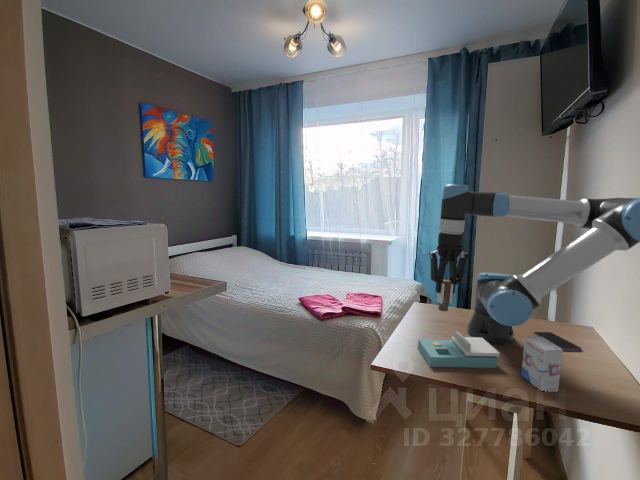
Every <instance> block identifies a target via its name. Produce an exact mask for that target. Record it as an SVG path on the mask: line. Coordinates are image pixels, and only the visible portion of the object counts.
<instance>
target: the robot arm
mask: <svg viewBox="0 0 640 480" xmlns="http://www.w3.org/2000/svg"><path fill="white" fill-rule="evenodd" d="M442 191H443V192H442V196H441V207H440V219H439V228H438V229H439V232H438V239H437V247H436V250H433V251H429V252H428V255H429V258H430V280H431V281H433V282H435V293H437V294H436V302H437V303H438V304H439V303H441V304H443V296H444V287H445V284H442V283H443V280H445V279H444V278H445V273H446V269H447V265H448V264H449V265H448V268H449V269H448V272H449V274H448V276H449V277H448V280H449V281H451V286H450V295H449V304H452V301H453V294H454V293H455V292H456V286H457V285H458V283H461V282H462V281H463V276H464V272H465V268H466V264H467V260H468V258H469V256H470V254H469V253H467V252H465V251H463V248H462V246H463V241H464V234H463V233H464V232H465V224H466V223H465V222H466V217H467V216H479V217H492V218H497V217H498V218H503V217H504V218H514V219H515V218H516V219H524V220H533V221H534V220H535V221H543V222H554V223H561V224H571V225H572V224H573V225H574V226H575V227H576V228H579V229H580V228H582V229H588V230H587V231H585V232H584V233H582V234H581V235H579V236H578V237H576V238H575V239H573V240H572V241H570V242H569V243H567V244H566V245H564V246H563V247H561V248H560V249H558V250H557V251H555V252H554V253H552V254H550V255H549V256H547V257H546V258H545V259H542V260H541V261H540V262H539V263H538V264H536V265H534V266H532V267H531V268H530V269H528V270H526V271H525V272H523V273H522V274H520V275H519V274H507V273H506V274H505V273H499V272H479V273H478V275H477V278H476V287H475V288H476V289H475V299H474V308H473V309H474V310H473V313H472V315H471V317H470V319H469V322H467V323H468V324H467V328H466V332H467V333H468V334H469V336H470V337H482V338H483V339H484V340H486V341H487V342H488V343H491V344H492V343H493V344H499V345H500V344H509V343H510V344H511V343H512V342H513V341H514V335H515V334H514V329H513V327H516V326H520V325H523V324H525V323H526V322H528V321H529V319H530V318H531V317H532V314H533V313H532V312H533V310H534V309H536V308H538V307H540V305H541V304H542V298H543V297H545V296H547V295H548V294H549V293H551V292H552V291H554V290H556V289H557V288H559V287H560V286H562V285H563V284H565V283H567V282H568V281H569V280H572V279H573V278H574V277H576V276H577V275H580V274H581V273H583V272H584V271H585V270H587V269H589V268H591V267H592V266H594V265H595V264H596V263H598V262H599V261H601V260H602V259H604V258H606V257H608V256H609V255H611V254H612V253H614V252H616V251H625V252H626V251H629V250H630V249H631V248H633V247H635V246H636V245H638V244H640V197H636V198H635V197H611V198H610V197H609V198H583V197H582V198H581V199H579V200H571V199H570V200H569V199H558V198H549V197H548V198H547V197H536V196H524V195H516V194H515V195H514V194H513V195H512V194H508V193H506V192H504V193H503V192H499V191H497V192H492V191H488V192H487V191H472V190H471V191H470V189H469V186H468V184H452V183H451V184H445V185H444V186H443V190H442ZM438 257H439V260H438ZM438 263H439V264H438Z"/></svg>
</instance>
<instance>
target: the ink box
mask: <svg viewBox="0 0 640 480" xmlns="http://www.w3.org/2000/svg"><path fill="white" fill-rule="evenodd" d="M523 344H524V345H523V354H522V364H521V374H520V376H522V377H523V378H524V379H525V380H526V381H527V382H529V383H530V384H531V385H532V386H534V387H535V388H536V387H537V388H538V389H537V388H536V389H537V390H539V389H540V390H541V391H545V392H544V393H553V392H554V393H555V392H559V387H560V378H561V377H560V376H561V371H562V370H561V368H562V363H563V361H562V360H563V353H564V351H563V350H562V349H561V348H559V347H558V346H556V345H555V344H553V343H551V342H550V341H548V340H547V339H545V338H543V337H538V336H527V337H524V343H523ZM540 390H539V391H540ZM541 391H540V392H541ZM547 391H548V392H547Z"/></svg>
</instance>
